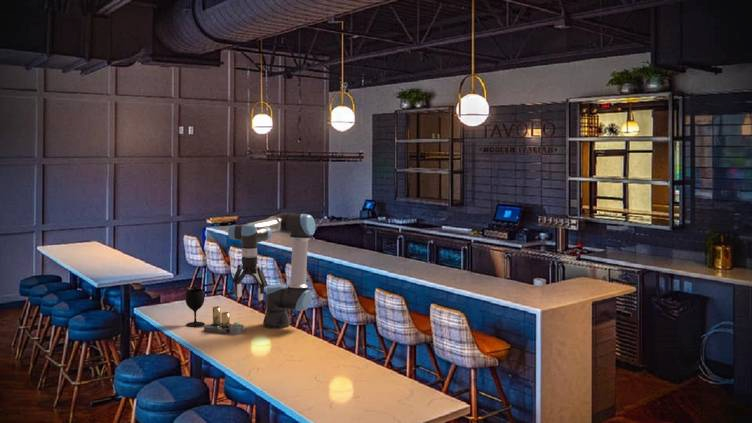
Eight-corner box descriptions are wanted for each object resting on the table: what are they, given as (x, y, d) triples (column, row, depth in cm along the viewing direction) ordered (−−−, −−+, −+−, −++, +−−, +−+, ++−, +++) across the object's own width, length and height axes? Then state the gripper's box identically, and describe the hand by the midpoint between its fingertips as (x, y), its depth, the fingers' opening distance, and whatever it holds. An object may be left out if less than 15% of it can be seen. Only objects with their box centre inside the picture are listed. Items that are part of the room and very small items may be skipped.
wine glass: (201, 327, 357) (201, 292, 355) (183, 327, 357) (182, 292, 355) (206, 322, 367) (206, 288, 366) (189, 322, 368) (188, 288, 366)
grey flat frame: (215, 326, 359) (215, 322, 359) (236, 329, 355) (236, 324, 354) (203, 331, 349) (203, 326, 349) (225, 334, 344) (225, 329, 344)
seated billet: (224, 329, 354) (224, 311, 353) (231, 330, 352) (231, 312, 351) (219, 331, 350) (219, 313, 349) (226, 332, 348) (226, 314, 347)
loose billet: (215, 323, 366) (215, 305, 365) (222, 324, 365) (222, 306, 364) (211, 325, 362) (211, 307, 361) (217, 325, 360) (217, 308, 359)
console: (235, 330, 351) (235, 323, 351) (243, 331, 349) (243, 324, 349) (229, 333, 345) (229, 326, 345) (237, 334, 344) (237, 327, 343)
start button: (235, 325, 349) (235, 321, 349) (240, 326, 348) (240, 322, 348) (232, 326, 346) (232, 323, 346) (237, 327, 345) (237, 323, 345)
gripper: (224, 255, 315) (225, 296, 318) (264, 259, 303) (265, 303, 306) (235, 252, 322) (235, 293, 324) (274, 257, 310) (274, 299, 312)
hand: (250, 298), depth 315 cm, fingers open, 13 cm apart
